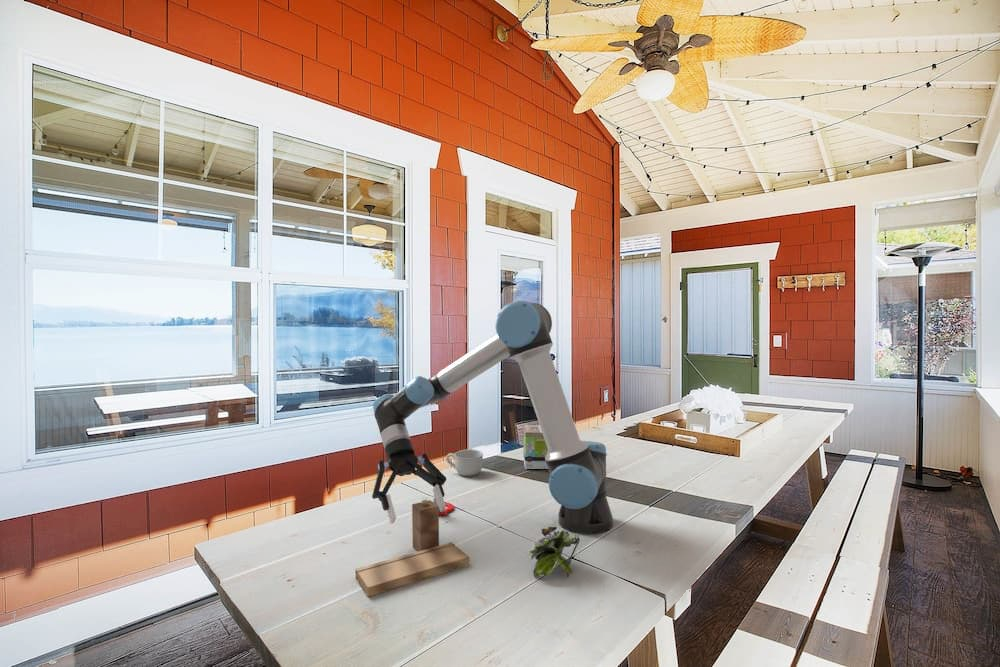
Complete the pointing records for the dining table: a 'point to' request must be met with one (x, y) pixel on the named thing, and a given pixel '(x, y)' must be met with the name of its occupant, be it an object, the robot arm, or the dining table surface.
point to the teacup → (467, 462)
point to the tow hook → (450, 508)
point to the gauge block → (425, 525)
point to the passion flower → (552, 551)
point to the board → (410, 568)
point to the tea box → (534, 448)
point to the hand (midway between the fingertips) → (419, 515)
